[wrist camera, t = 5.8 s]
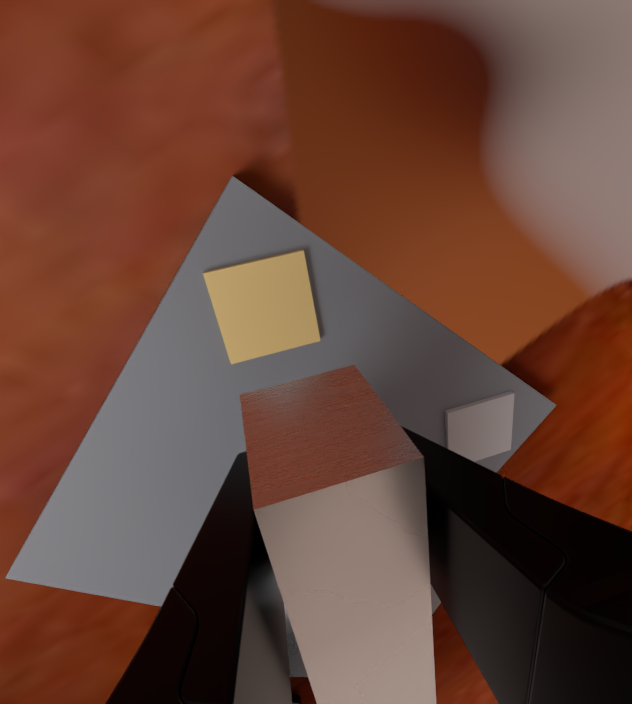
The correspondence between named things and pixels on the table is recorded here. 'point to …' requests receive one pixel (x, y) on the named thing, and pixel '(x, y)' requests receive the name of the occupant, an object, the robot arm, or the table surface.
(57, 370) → the table surface
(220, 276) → the base
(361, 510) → the handle
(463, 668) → the table surface
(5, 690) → the table surface
